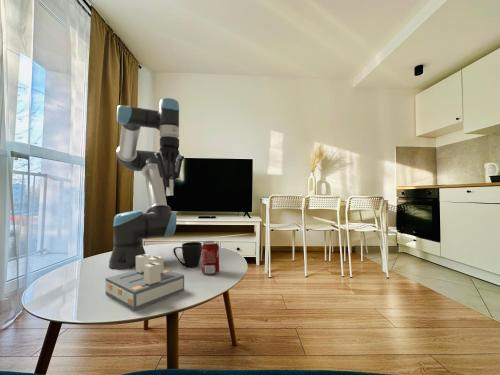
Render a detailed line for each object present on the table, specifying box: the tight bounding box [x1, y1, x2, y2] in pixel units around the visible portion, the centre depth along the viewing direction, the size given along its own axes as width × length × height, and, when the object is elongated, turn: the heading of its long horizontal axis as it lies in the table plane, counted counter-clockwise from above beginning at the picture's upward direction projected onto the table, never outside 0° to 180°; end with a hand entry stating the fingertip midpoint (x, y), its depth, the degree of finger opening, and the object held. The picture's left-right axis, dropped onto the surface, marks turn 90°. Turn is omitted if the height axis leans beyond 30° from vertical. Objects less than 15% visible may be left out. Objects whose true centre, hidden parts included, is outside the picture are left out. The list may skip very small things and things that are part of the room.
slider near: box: [144, 262, 161, 285], centre depth 70 cm, size 3×4×5 cm
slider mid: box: [148, 255, 164, 273], centre depth 77 cm, size 3×4×5 cm
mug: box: [172, 241, 203, 269], centre depth 102 cm, size 8×12×10 cm
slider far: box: [135, 253, 151, 273], centre depth 80 cm, size 3×4×5 cm
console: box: [105, 268, 185, 311], centre depth 75 cm, size 18×16×5 cm
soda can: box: [201, 240, 220, 276], centre depth 94 cm, size 7×7×12 cm
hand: (169, 195), depth 97 cm, fingers closed
